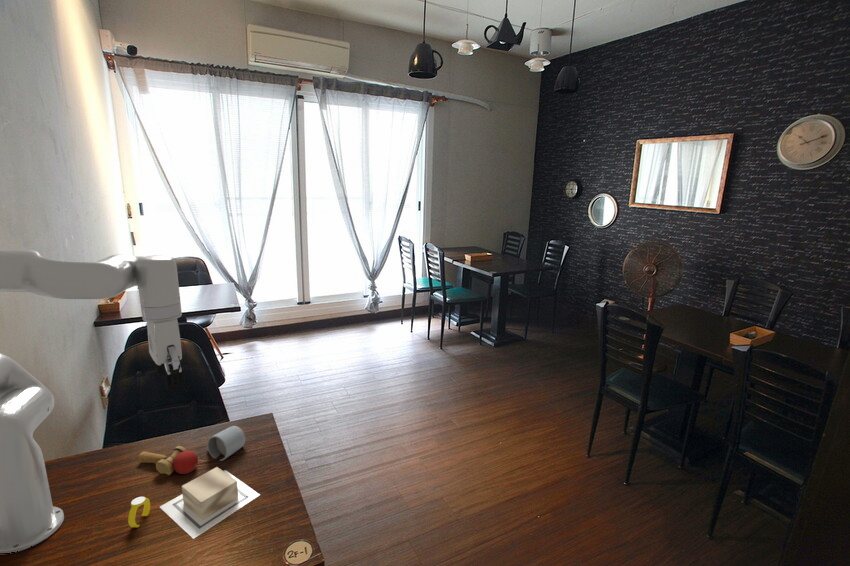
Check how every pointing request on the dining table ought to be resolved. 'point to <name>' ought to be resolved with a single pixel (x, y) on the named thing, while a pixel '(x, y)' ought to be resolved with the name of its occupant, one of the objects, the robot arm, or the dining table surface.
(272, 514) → the dining table surface
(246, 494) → the mat
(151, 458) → the kendama
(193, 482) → the birch block
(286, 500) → the dining table surface
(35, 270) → the robot arm
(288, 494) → the dining table surface
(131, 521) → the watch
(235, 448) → the grey hollow cylinder
